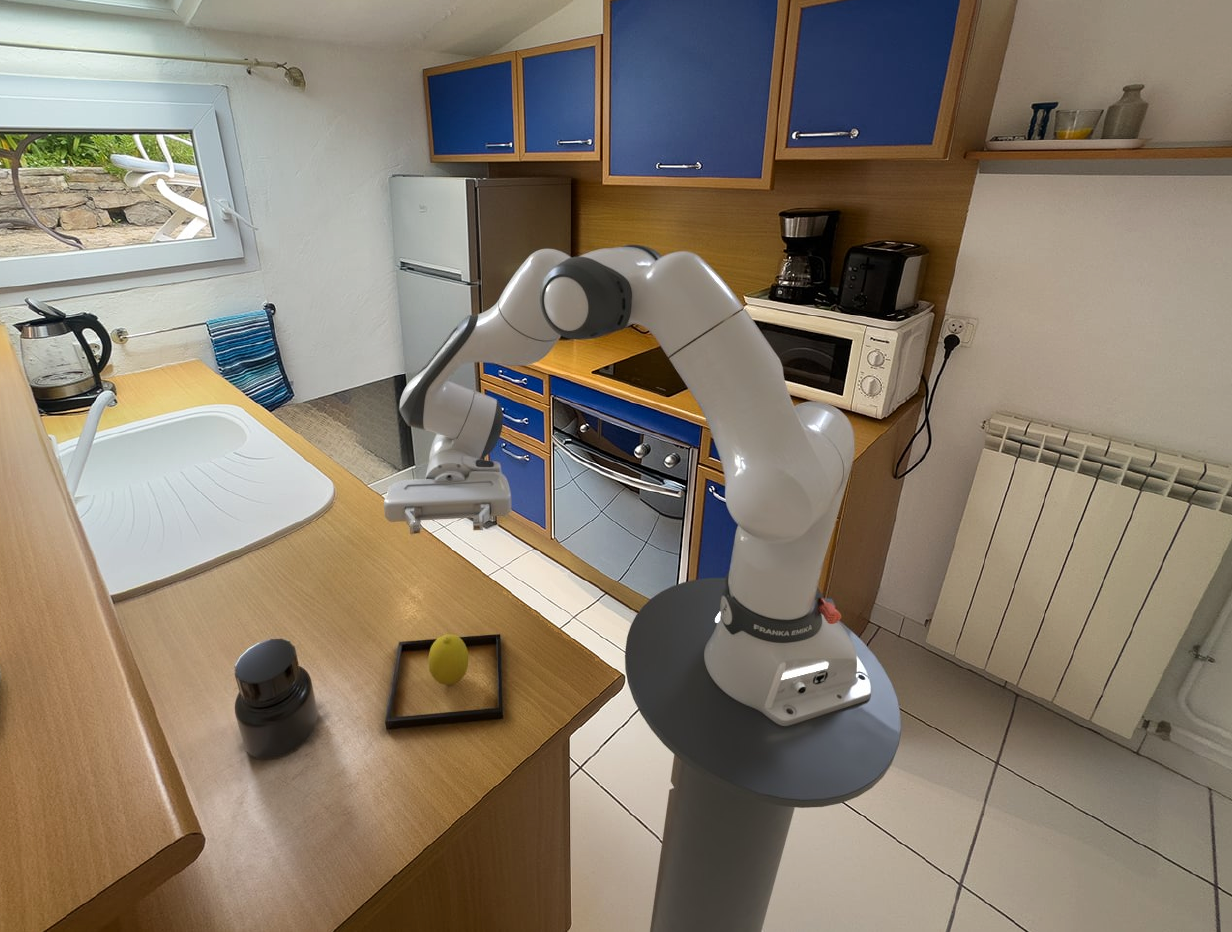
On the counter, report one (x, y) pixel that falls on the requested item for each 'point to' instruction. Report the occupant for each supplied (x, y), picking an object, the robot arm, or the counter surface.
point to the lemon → (448, 659)
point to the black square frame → (447, 716)
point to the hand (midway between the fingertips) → (446, 528)
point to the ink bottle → (273, 700)
